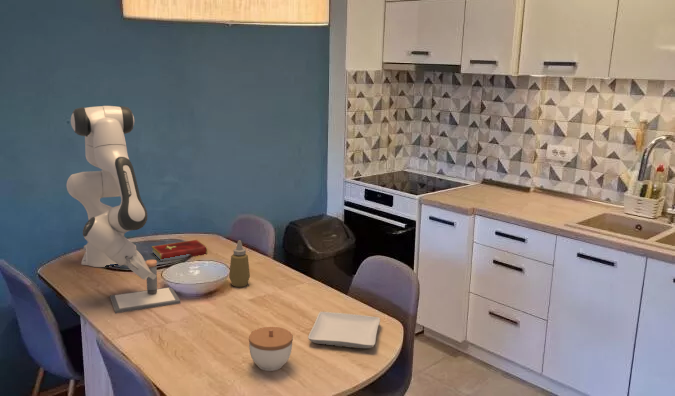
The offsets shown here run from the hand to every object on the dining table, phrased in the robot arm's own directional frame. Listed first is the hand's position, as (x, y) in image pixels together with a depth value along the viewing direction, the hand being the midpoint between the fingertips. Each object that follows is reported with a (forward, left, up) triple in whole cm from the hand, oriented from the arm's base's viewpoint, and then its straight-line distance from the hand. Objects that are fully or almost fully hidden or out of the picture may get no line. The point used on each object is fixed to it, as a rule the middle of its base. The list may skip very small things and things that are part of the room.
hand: (153, 275), depth 215 cm
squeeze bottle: (+1, +32, -8) cm, 33 cm away
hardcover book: (-43, +19, -9) cm, 48 cm away
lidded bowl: (+63, +21, -8) cm, 67 cm away
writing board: (+3, -4, -8) cm, 9 cm away
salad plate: (+55, +50, -9) cm, 75 cm away
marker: (0, -1, -7) cm, 7 cm away
